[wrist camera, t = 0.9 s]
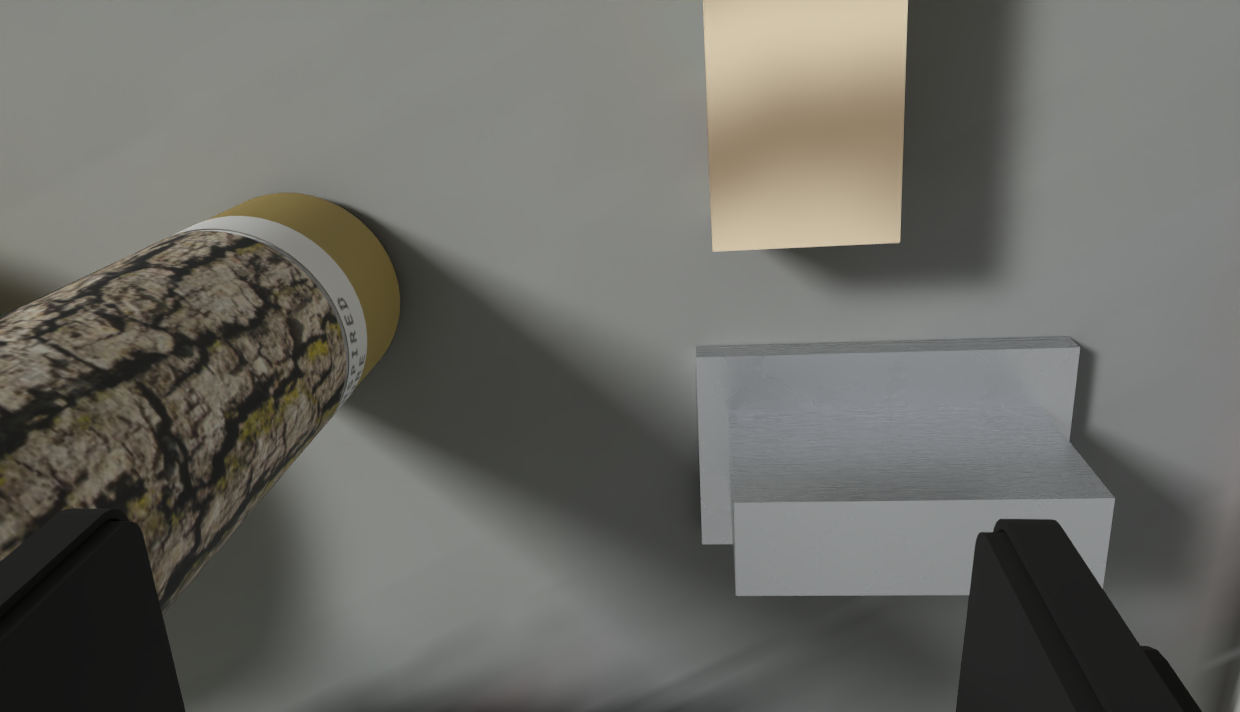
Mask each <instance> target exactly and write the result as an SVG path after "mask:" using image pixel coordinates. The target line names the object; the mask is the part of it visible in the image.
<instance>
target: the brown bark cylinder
mask: <svg viewBox="0 0 1240 712" xmlns="http://www.w3.org/2000/svg"><path fill="white" fill-rule="evenodd" d="M399 314H400V292H399V285H398V281H397V276H396V273H395V270H394V267H393V265H392V263H391V261H390V258H389V256H388V254H387V253H386V251H385V249H384V247H383V246H382V245H381V243H380V242H379V240H378V239H377V238H376V236H375V235H374V234H373V233H372V232H371V231H370V229H368V228H367V227H366V226H365V225H364V224H363V223H362V222H361V221H360V220H359V219H357V218H356V217H355V216H354V215H352V214H351V213H349V212H348V211H346V210H345V209H343V208H341V207H339V206H338V205H336V204H334V203H331V202H329V201H327V200H324V199H321V198H318V197H315V196H311V195H305V194H298V193H277V194H269V195H264V196H260V197H256V198H253V199H251V200H248V201H246V202H244V203H241V204H239V205H237V206H235V207H233V208H231V209H229V210H227V211H225V212H223V213H220V214H218V215H216V216H214V217H212V218H210V219H208V220H206V221H203V222H200V223H198V224H195V225H193V226H191V227H189V228H187V229H185V230H182V231H180V232H178V233H176V234H174V235H172V236H170V237H168V238H166V239H163V240H161V241H159V242H157V243H155V244H153V245H151V246H149V247H146V248H144V249H142V250H140V251H138V252H136V253H134V254H132V255H130V256H127V257H125V258H123V259H121V260H119V261H117V262H115V263H113V264H111V265H108V266H106V267H104V268H102V269H100V270H98V271H96V272H94V273H91V274H89V275H87V276H85V277H83V278H81V279H79V280H77V281H75V282H72V283H70V284H68V285H66V286H64V287H62V288H60V289H58V290H55V291H53V292H51V293H49V294H47V295H45V296H43V297H41V298H39V299H36V300H34V301H32V302H30V303H28V304H26V305H24V306H22V307H20V308H17V309H15V310H13V311H11V312H9V313H7V314H5V315H3V316H0V561H1V560H3V559H4V558H5V557H6V556H7V555H9V554H10V553H11V552H12V551H13V550H15V549H16V548H17V547H18V546H19V545H21V544H22V543H23V542H24V541H25V540H27V539H28V538H29V537H30V536H31V535H33V534H34V533H35V532H36V531H37V530H39V529H40V528H41V527H42V526H43V525H45V524H46V523H47V522H48V521H49V520H51V519H52V518H53V517H54V516H55V515H56V514H58V513H59V512H61V511H63V510H64V509H71V508H90V509H118V510H120V511H122V512H124V514H125V515H126V516H127V517H128V519H129V522H134V523H137V524H138V526H139V527H140V528H141V531H142V533H143V536H144V541H145V545H146V549H147V553H148V557H149V561H150V566H151V570H152V574H153V578H154V582H155V587H156V591H157V595H158V599H159V603H160V608H161V612H162V616H163V614H164V613H165V612H166V611H167V610H168V609H169V607H170V606H171V605H172V604H173V603H174V602H175V600H176V599H177V598H178V597H179V596H180V594H181V593H182V592H183V591H184V590H185V589H186V587H187V586H188V585H189V584H190V583H191V582H192V580H193V579H194V578H195V577H196V576H197V575H198V573H199V572H200V571H201V570H202V569H203V568H204V566H205V565H206V564H207V563H208V562H209V561H210V559H211V558H212V557H213V556H214V555H215V553H216V552H217V551H218V550H219V549H220V548H221V546H222V545H223V544H224V543H225V542H226V541H227V539H228V538H229V537H230V536H231V535H232V534H233V532H234V531H235V530H236V529H237V528H238V527H239V525H240V524H241V523H242V522H243V521H244V520H245V518H246V517H247V516H248V515H249V514H250V513H251V511H252V510H253V509H254V508H255V507H256V505H257V504H258V503H259V502H260V501H261V500H262V498H263V497H264V496H265V495H266V494H267V493H268V491H269V490H270V489H271V488H272V487H273V486H274V484H275V483H276V482H277V481H278V480H279V479H280V477H281V476H282V475H283V474H284V473H285V472H286V470H287V469H288V468H289V467H290V466H291V465H292V463H293V462H294V461H295V460H296V459H297V457H298V456H299V455H300V454H301V453H302V452H303V450H304V449H305V448H306V447H307V446H308V445H309V443H310V442H311V441H312V440H313V439H314V438H315V436H316V435H317V434H318V433H319V432H320V431H321V429H322V428H323V427H324V426H325V425H326V424H327V422H328V421H329V420H330V419H331V418H332V417H333V415H334V414H335V413H336V412H337V411H338V409H339V408H340V407H341V406H342V405H343V404H344V402H345V401H346V400H347V399H348V398H349V396H350V395H351V394H352V392H353V391H354V390H355V388H356V387H357V386H358V385H359V384H360V383H361V381H362V380H363V379H364V378H365V377H366V375H367V374H368V373H369V372H370V371H371V370H372V368H373V367H374V366H375V365H376V364H377V363H378V361H379V360H380V359H381V358H382V357H383V355H384V354H385V352H386V351H387V349H388V347H389V346H390V343H391V341H392V339H393V337H394V334H395V331H396V328H397V325H398V320H399Z"/></svg>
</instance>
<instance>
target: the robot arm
mask: <svg viewBox="0 0 1240 712" xmlns="http://www.w3.org/2000/svg"><path fill="white" fill-rule="evenodd" d="M0 712H185V709H184V704H183V700H182V695H181V691H180V687H179V683H178V679H177V674H176V670H175V666H174V662H173V658H172V654H171V649H170V645H169V641H168V637H167V633H166V628H165V624H164V620H163V616H162V612H161V608H160V603H159V599H158V595H157V591H156V587H155V582H154V578H153V574H152V570H151V566H150V561H149V557H148V553H147V549H146V545H145V541H144V536H143V533H142V531H141V528H140V527H139V526H138V524H137V523H134V522H129V519H128V517H127V516H126V515H125V514H124V512H122V511H120V510H118V509H90V508H71V509H64V510H63V511H61V512H59V513H58V514H56V515H55V516H54V517H53V518H52V519H51V520H49V521H48V522H47V523H46V524H45V525H43V526H42V527H41V528H40V529H39V530H37V531H36V532H35V533H34V534H33V535H31V536H30V537H29V538H28V539H27V540H25V541H24V542H23V543H22V544H21V545H19V546H18V547H17V548H16V549H15V550H13V551H12V552H11V553H10V554H9V555H7V556H6V557H5V558H4V559H3V560H1V561H0ZM956 712H1202V711H1201V710H1200V708H1199V707H1198V705H1197V704H1196V702H1195V701H1194V699H1193V698H1192V697H1191V695H1190V694H1189V692H1188V691H1187V689H1186V688H1185V686H1184V685H1183V683H1182V682H1181V680H1180V679H1179V678H1178V676H1177V675H1176V673H1175V672H1174V670H1173V669H1172V667H1171V666H1170V664H1169V663H1168V662H1167V660H1166V659H1165V658H1164V657H1163V656H1162V655H1161V654H1160V653H1159V651H1158V650H1156V649H1153V648H1151V647H1149V646H1140V645H1139V643H1138V642H1137V640H1136V639H1135V637H1134V636H1133V634H1132V633H1131V631H1130V630H1129V628H1128V627H1127V625H1126V624H1125V622H1124V621H1123V619H1122V618H1121V616H1120V614H1119V613H1118V611H1117V610H1116V608H1115V607H1114V605H1113V604H1112V602H1111V601H1110V599H1109V598H1108V596H1107V595H1106V593H1105V592H1104V590H1103V589H1102V587H1101V586H1100V584H1099V583H1098V581H1097V580H1096V578H1095V577H1094V575H1093V574H1092V572H1091V571H1090V569H1089V568H1088V566H1087V565H1086V563H1085V561H1084V560H1083V558H1082V557H1081V555H1080V554H1079V552H1078V551H1077V549H1076V548H1075V546H1074V545H1073V543H1072V542H1071V540H1070V539H1069V537H1068V536H1067V534H1066V533H1065V531H1064V530H1063V528H1062V527H1061V525H1060V524H1059V523H1058V522H1057V521H1056V520H1052V519H999V520H998V521H997V522H996V524H995V527H994V530H993V532H980V533H979V534H978V536H977V539H976V543H975V550H974V559H973V567H972V576H971V585H970V593H969V602H968V611H967V619H966V628H965V637H964V645H963V654H962V662H961V671H960V680H959V688H958V697H957V706H956Z"/></svg>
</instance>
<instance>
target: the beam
mask: <svg viewBox="0 0 1240 712" xmlns="http://www.w3.org/2000/svg"><path fill="white" fill-rule="evenodd" d="M907 14H908V0H703V15H704V42H705V70H706V97H707V124H708V151H709V178H710V205H711V227H712V247H713V252H718V251H739V250H760V249H781V248H802V247H823V246H844V245H865V244H886V243H900V231H901V200H902V169H903V138H904V107H905V76H906V45H907Z"/></svg>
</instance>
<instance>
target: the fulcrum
mask: <svg viewBox="0 0 1240 712" xmlns="http://www.w3.org/2000/svg"><path fill="white" fill-rule="evenodd" d="M1079 354H1080V347H1079V346H1078V345H1077V344H1076V343H1075V342H1074V341H1073V340H1072V339H1071V338H1070V337H1042V338H1005V339H968V340H931V341H894V342H857V343H820V344H783V345H746V346H709V347H696V369H697V400H698V432H699V463H700V495H701V526H702V544H733V557H734V574H735V592H736V596H868V595H969V593H970V585H971V576H972V567H973V559H974V550H975V543H976V539H977V536H978V534H979V533H980V532H993V530H994V527H995V524H996V522H997V521H998V520H999V519H1052V520H1056V521H1057V522H1058V523H1059V524H1060V525H1061V527H1062V528H1063V530H1064V531H1065V533H1066V534H1067V536H1068V537H1069V539H1070V540H1071V542H1072V543H1073V545H1074V546H1075V548H1076V549H1077V551H1078V552H1079V554H1080V555H1081V557H1082V558H1083V560H1084V561H1085V563H1086V565H1087V566H1088V568H1089V569H1090V571H1091V572H1092V574H1093V575H1094V577H1095V578H1096V580H1097V581H1098V583H1099V584H1100V586H1101V587H1102V589H1103V583H1104V576H1105V569H1106V562H1107V554H1108V547H1109V540H1110V532H1111V525H1112V518H1113V510H1114V503H1115V497H1114V496H1113V495H1112V494H1111V492H1110V491H1109V490H1108V489H1107V487H1106V486H1105V485H1104V484H1103V483H1102V481H1101V480H1100V479H1099V478H1098V476H1097V475H1096V474H1095V473H1094V471H1093V470H1092V469H1091V468H1090V466H1089V465H1088V464H1087V463H1086V462H1085V460H1084V459H1083V458H1082V457H1081V455H1080V454H1079V453H1078V452H1077V450H1076V449H1075V448H1074V447H1073V445H1072V444H1071V443H1070V442H1069V440H1070V432H1071V423H1072V414H1073V406H1074V397H1075V388H1076V380H1077V371H1078V362H1079Z"/></svg>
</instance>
